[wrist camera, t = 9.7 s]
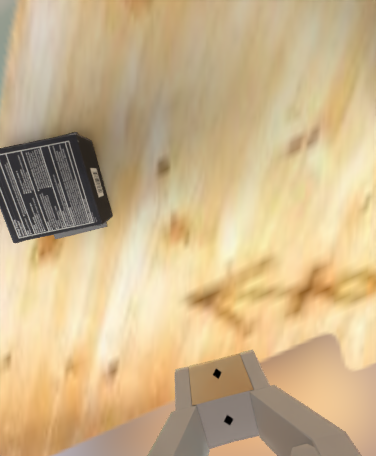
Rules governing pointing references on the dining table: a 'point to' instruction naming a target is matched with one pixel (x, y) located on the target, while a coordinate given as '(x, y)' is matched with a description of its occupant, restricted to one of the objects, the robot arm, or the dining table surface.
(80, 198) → the small box
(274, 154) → the dining table surface
